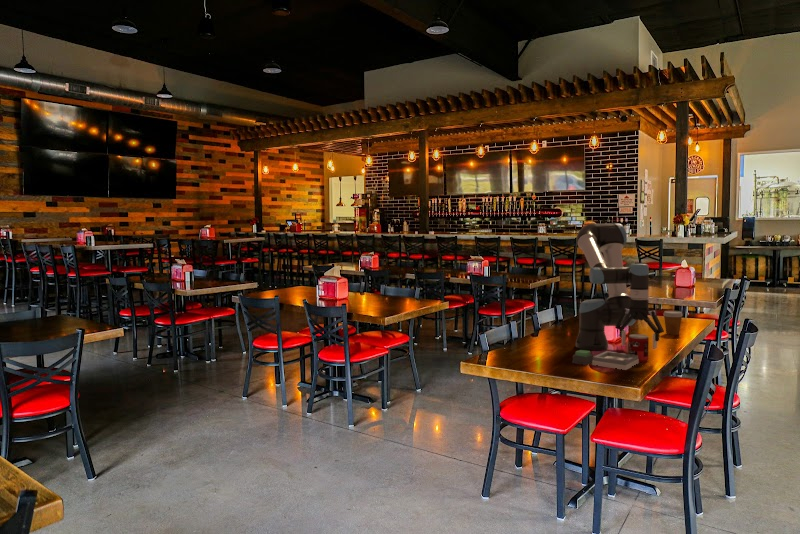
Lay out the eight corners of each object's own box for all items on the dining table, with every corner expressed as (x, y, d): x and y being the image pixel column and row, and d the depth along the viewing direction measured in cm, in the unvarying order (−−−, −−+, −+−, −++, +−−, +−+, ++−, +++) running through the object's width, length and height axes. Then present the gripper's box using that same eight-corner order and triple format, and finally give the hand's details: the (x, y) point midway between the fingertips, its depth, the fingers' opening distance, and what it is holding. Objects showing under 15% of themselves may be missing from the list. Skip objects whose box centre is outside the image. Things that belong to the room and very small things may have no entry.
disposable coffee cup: (686, 334, 308) (686, 312, 308) (676, 336, 303) (676, 314, 302) (669, 331, 316) (669, 310, 315) (659, 333, 311) (659, 311, 310)
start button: (580, 356, 256) (580, 349, 256) (590, 357, 253) (590, 351, 253) (575, 358, 253) (575, 351, 252) (585, 360, 249) (585, 353, 249)
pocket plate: (606, 358, 259) (606, 350, 259) (638, 363, 250) (638, 355, 249) (592, 364, 249) (592, 356, 248) (625, 370, 239) (625, 361, 239)
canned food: (626, 358, 259) (626, 334, 258) (644, 358, 259) (644, 333, 258) (632, 362, 252) (632, 337, 251) (651, 362, 251) (651, 337, 250)
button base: (579, 359, 258) (579, 352, 258) (594, 362, 253) (594, 354, 253) (571, 362, 253) (571, 355, 252) (587, 365, 248) (587, 357, 248)
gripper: (607, 297, 259) (607, 344, 260) (666, 301, 242) (665, 351, 243) (614, 296, 264) (614, 341, 266) (671, 299, 247) (671, 348, 249)
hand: (638, 346), depth 254 cm, fingers open, 13 cm apart
